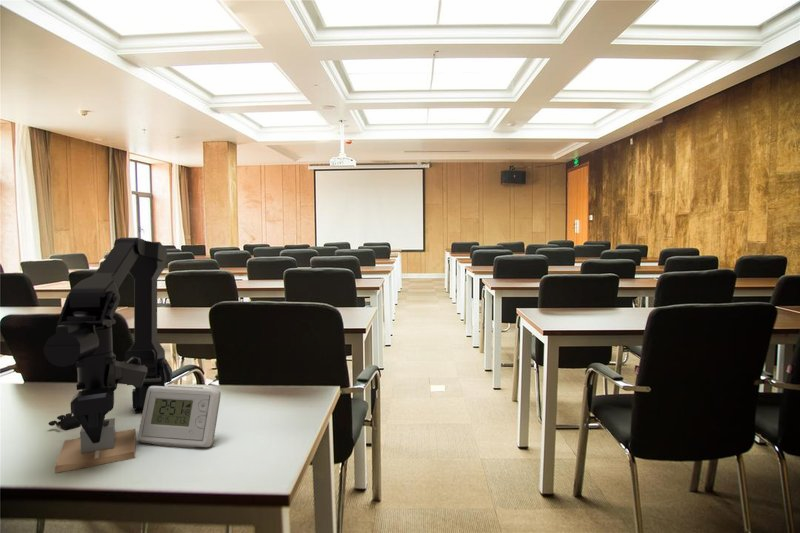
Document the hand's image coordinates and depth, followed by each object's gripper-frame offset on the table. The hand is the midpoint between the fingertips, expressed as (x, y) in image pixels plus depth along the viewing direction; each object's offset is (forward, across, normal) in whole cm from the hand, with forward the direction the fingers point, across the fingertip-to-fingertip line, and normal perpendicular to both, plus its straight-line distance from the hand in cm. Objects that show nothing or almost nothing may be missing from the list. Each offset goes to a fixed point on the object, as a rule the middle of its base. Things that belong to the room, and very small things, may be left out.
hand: (98, 433), depth 90 cm
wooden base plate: (+4, 0, 0) cm, 4 cm away
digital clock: (+4, -2, -14) cm, 15 cm away
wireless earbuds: (+4, +18, +7) cm, 20 cm away
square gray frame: (+2, 0, 0) cm, 2 cm away
